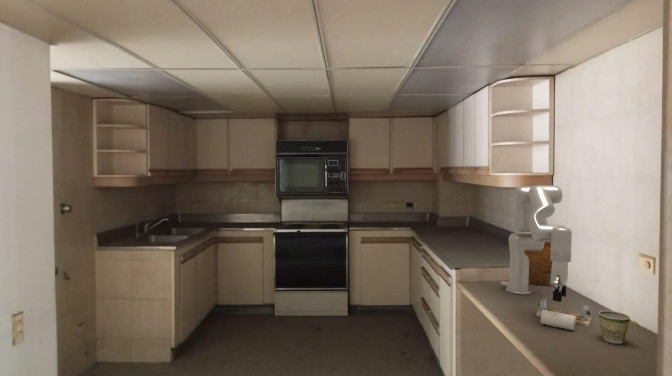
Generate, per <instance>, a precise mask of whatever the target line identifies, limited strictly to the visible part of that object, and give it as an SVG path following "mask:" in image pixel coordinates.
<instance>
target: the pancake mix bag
mask: <svg viewBox="0 0 672 376" xmlns="http://www.w3.org/2000/svg"><path fill="white" fill-rule="evenodd" d="M524 252H525V254H526V255H527V256H528V258H529V283H528V286H529V285H530V286H541V287H543V286H544V287H554V284H553V285H551V269H552V262H553V261H551V260H550V256H551V242H545V244H544V248H543V249H542V250H541V251H524Z"/></svg>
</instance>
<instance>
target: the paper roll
mask: <svg viewBox="0 0 672 376" xmlns="http://www.w3.org/2000/svg"><path fill="white" fill-rule="evenodd" d="M540 324H541V325H544V324H546V325H545V326H549V325H550V326H549V327H554V328H558V327H559V329H563V328H564V330H567V331H568V330H569V331H575V329H576V326H577V325H576V316H574V315H569V314H564V313H558V312H553V311H548V310H542V313H541V318H540Z"/></svg>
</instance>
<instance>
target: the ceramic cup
mask: <svg viewBox="0 0 672 376" xmlns="http://www.w3.org/2000/svg"><path fill="white" fill-rule="evenodd" d="M598 317H599V318H598V319H599V323H600V329H601V335H602V337H601V338H602V339H603V340H604V341H605V342H608V343H611V344H614V343H615V345H617V344H619V343H620V344H619V345H622V344H623V342H624V343H625V339H626V336H627V334H630V333H631V332H633V331H636V330H637V329H639V327H640V326H639V323H638V322H637V321H635V320H631V317H630V316H629V315H628V314H626V313H623V312H620V311H612V310H601V311H599V312H598ZM630 320H631V321H630ZM631 324H636V328H633V329H630V330H628V328H629V326H630V325H631Z"/></svg>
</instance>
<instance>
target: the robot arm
mask: <svg viewBox="0 0 672 376" xmlns="http://www.w3.org/2000/svg"><path fill="white" fill-rule="evenodd" d="M513 198H514V202H515V211H514V220H513V228H514V230H515V231H516V232H513V233H511V234H510V235H509V237H508V246H509V280H508V281H506V280H505V281H504V280H501V282H500V283H501V286H504V287H505V286H506V287H505V291H507V292H508V293H511V294H516V295H530V294H532V290H531V289H530V288H529V285H528V283H529V258H528V256H527V255H526V254H525V252H524V251H541V250H542V249H543V248H544V244H545V242H551V256H550V260H551V261H553V262H552V269H551V285H553V286H552V287H553V289H552V301H554V302H557V303H558V302H559V303H561V302H562V301H563V298H562V297H567V283H568V273H569V263H571V261H572V239H573V238H572V237H573V233H572V232H573V231H572V229H570V228H568V227H566V226H565V225H562V224H561V225H560V224H548V222H547V221H548V220H547V219H548V218H550V217H551V216H553V215H554V213H555V211H556V208H555V205H556V204H559V203H561V201H562V200H563V191H562V189H561V188H560V187H559V186H558V185H553V184H552V185H551V184H549V185H547V184H545V185H544V184H541V185H540V184H537V185H533V186H531V185H528V186H526V185H525V186H523V185H522V186H521V185H520V186H517V187H516V188H515V189H514V192H513ZM554 204H555V205H554Z"/></svg>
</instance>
